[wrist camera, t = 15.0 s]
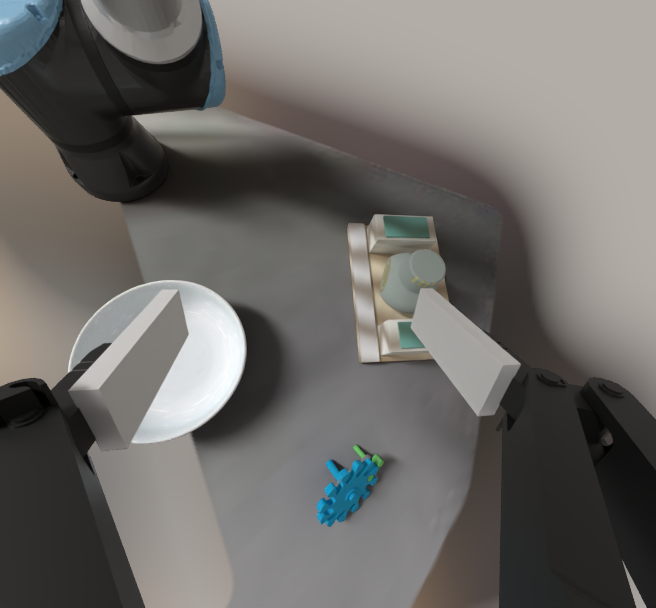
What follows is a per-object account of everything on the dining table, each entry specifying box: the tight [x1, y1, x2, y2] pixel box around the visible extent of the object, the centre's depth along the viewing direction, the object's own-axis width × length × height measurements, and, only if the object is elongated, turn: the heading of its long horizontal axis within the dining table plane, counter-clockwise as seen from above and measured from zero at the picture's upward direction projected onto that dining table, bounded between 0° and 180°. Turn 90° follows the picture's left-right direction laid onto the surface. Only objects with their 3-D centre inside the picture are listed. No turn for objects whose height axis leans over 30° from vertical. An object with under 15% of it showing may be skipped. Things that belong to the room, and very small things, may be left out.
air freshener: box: [379, 249, 446, 314], centre depth 44 cm, size 11×8×10 cm
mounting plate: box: [347, 214, 449, 363], centre depth 46 cm, size 26×18×6 cm
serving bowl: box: [68, 280, 247, 444], centre depth 37 cm, size 21×21×7 cm
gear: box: [317, 445, 384, 527], centre depth 37 cm, size 11×6×10 cm
